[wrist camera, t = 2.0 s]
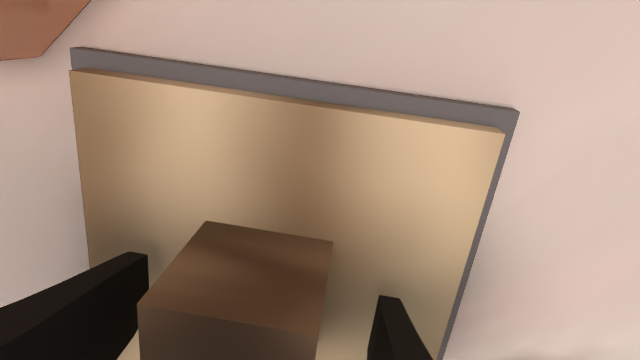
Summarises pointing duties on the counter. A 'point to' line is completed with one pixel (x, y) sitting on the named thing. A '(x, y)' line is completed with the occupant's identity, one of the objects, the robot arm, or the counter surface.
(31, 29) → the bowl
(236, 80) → the mat
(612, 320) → the counter surface
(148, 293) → the lid
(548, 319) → the counter surface
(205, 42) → the counter surface
